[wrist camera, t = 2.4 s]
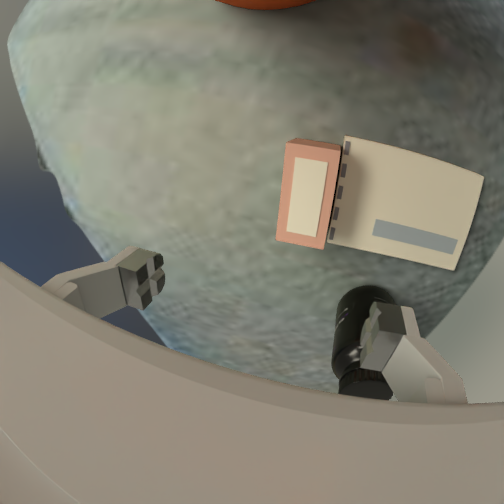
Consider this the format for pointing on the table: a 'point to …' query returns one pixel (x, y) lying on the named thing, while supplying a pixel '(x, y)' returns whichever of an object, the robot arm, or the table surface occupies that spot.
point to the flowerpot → (265, 3)
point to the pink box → (307, 192)
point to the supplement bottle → (357, 345)
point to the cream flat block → (402, 203)
